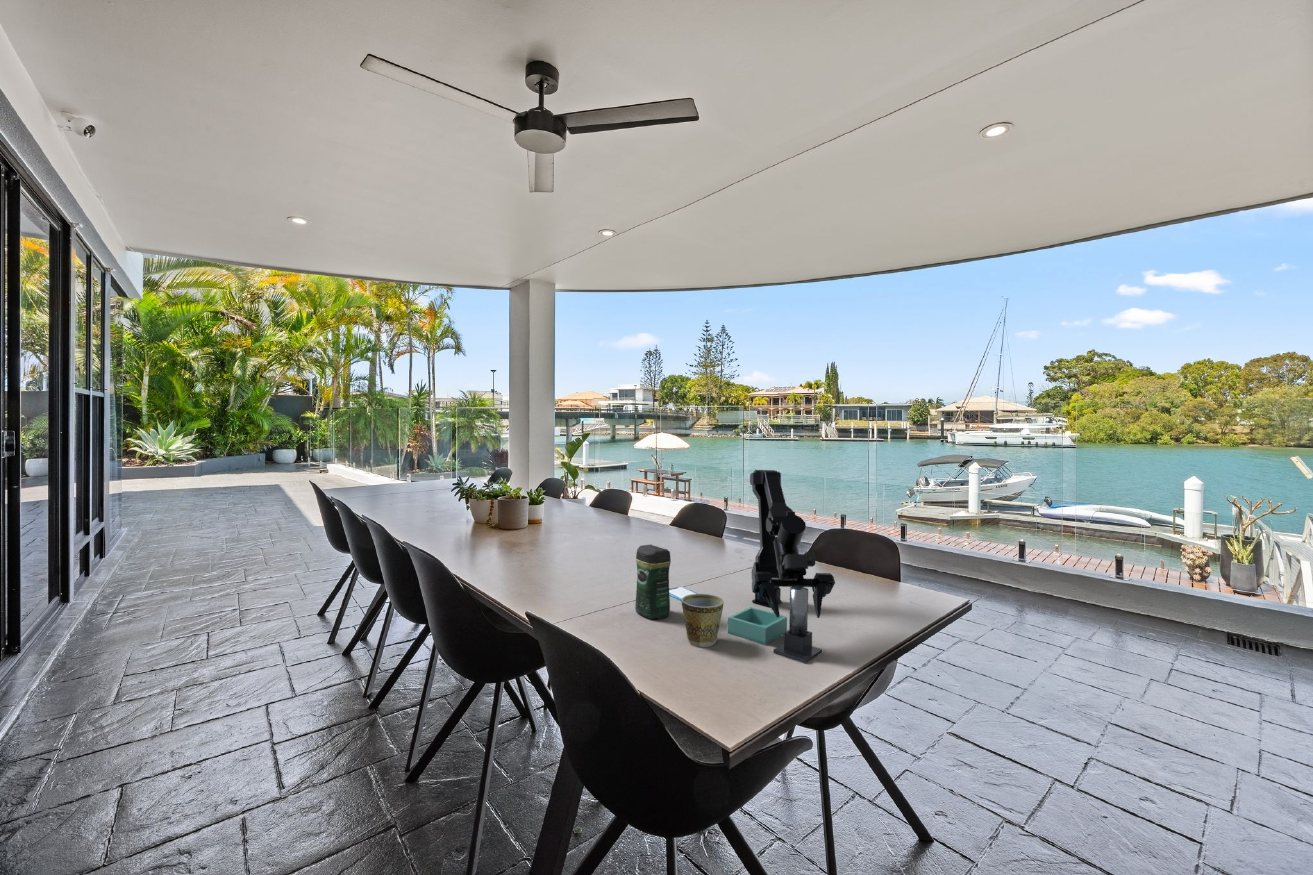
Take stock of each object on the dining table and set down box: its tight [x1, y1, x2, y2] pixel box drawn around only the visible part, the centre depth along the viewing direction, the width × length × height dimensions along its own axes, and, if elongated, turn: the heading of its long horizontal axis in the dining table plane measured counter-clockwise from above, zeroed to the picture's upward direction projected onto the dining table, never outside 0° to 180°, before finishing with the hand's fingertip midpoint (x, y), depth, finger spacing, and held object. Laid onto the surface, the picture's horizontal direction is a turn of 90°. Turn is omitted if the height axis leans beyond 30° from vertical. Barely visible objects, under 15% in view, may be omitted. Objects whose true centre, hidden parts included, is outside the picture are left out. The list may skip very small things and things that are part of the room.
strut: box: [783, 586, 813, 655], centre depth 123 cm, size 5×5×14 cm
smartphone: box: [669, 586, 699, 602], centre depth 162 cm, size 8×1×15 cm
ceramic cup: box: [681, 593, 724, 648], centre depth 130 cm, size 13×10×10 cm
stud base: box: [773, 636, 823, 665], centre depth 123 cm, size 8×8×4 cm
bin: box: [727, 606, 788, 646], centre depth 135 cm, size 11×11×4 cm
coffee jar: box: [634, 544, 672, 619], centre depth 147 cm, size 10×8×19 cm
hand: (798, 616), depth 123 cm, fingers open, 9 cm apart
